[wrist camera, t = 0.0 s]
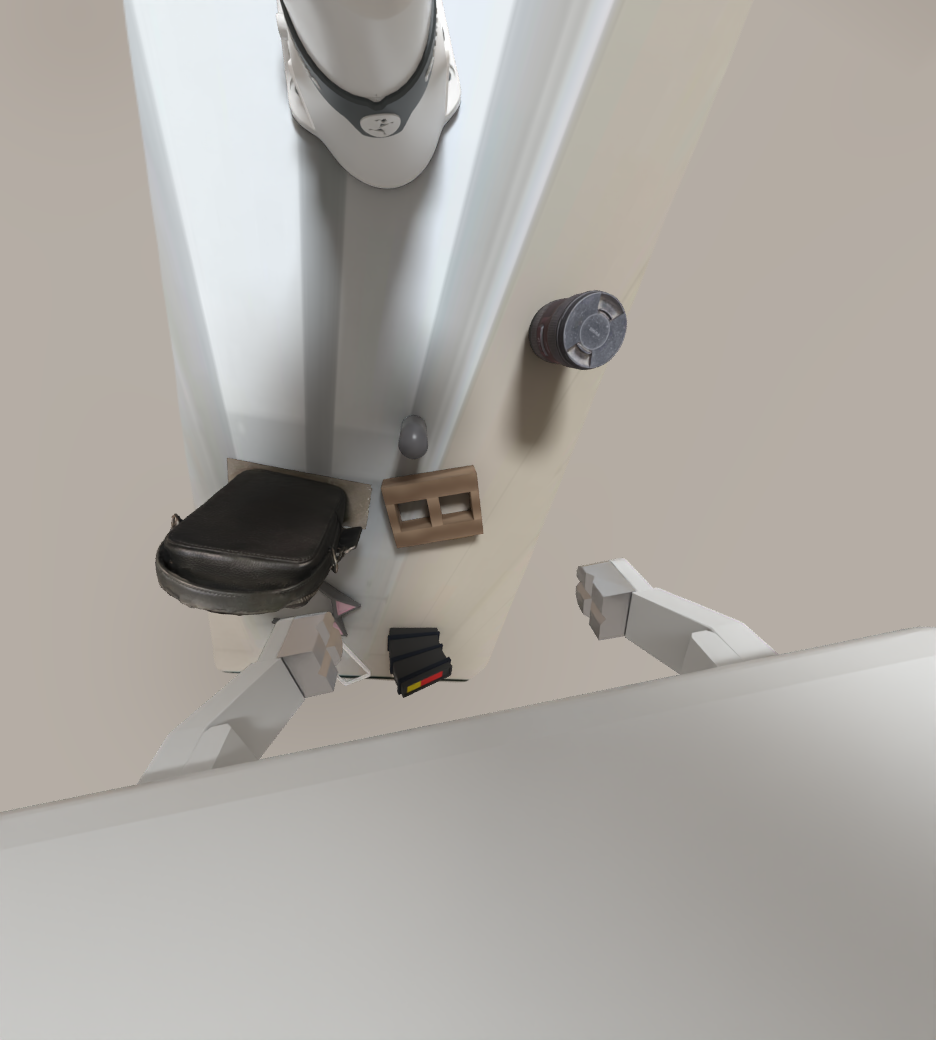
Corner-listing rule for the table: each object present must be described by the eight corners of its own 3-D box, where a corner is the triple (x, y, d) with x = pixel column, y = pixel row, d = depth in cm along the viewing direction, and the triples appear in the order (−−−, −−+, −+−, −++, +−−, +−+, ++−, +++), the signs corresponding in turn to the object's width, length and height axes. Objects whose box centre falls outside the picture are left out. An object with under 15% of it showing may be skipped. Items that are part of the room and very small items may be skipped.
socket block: (383, 479, 59) (381, 488, 55) (473, 465, 60) (476, 473, 56) (398, 538, 65) (397, 550, 61) (480, 524, 66) (483, 535, 62)
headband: (286, 574, 63) (363, 601, 67) (293, 565, 66) (366, 591, 70) (270, 624, 69) (341, 647, 72) (277, 614, 71) (346, 636, 75)
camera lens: (558, 370, 54) (603, 382, 41) (514, 348, 51) (547, 352, 38) (585, 317, 51) (643, 310, 38) (540, 290, 48) (585, 273, 35)
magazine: (374, 632, 73) (401, 687, 63) (428, 613, 80) (461, 660, 70) (374, 644, 75) (401, 700, 64) (427, 625, 82) (459, 672, 72)
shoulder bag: (372, 485, 59) (341, 590, 35) (365, 529, 63) (333, 651, 39) (228, 457, 54) (70, 558, 29) (230, 507, 58) (93, 633, 33)
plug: (399, 417, 54) (395, 433, 45) (423, 413, 54) (425, 428, 46) (404, 441, 56) (402, 461, 47) (428, 437, 56) (430, 456, 48)
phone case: (372, 671, 82) (336, 633, 75) (371, 675, 81) (334, 638, 74) (345, 681, 83) (307, 645, 76) (344, 687, 82) (305, 650, 74)
